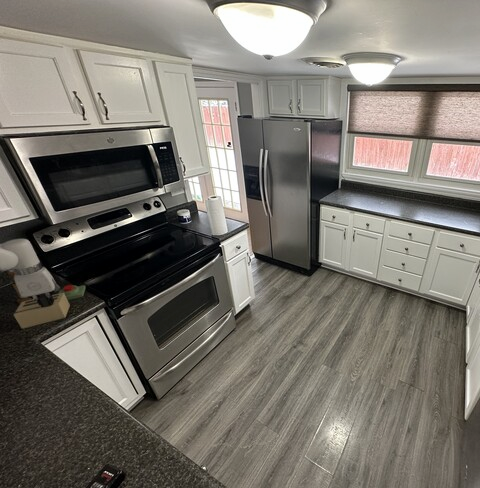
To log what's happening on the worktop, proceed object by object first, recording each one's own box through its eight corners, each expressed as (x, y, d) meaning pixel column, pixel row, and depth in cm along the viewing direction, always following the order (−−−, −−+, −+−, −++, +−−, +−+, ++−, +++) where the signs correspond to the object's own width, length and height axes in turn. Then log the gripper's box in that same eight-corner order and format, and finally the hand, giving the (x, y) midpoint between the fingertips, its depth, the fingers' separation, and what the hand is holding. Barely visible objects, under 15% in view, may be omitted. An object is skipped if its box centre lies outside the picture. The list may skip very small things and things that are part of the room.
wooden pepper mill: (20, 306, 125) (1, 274, 117) (17, 301, 128) (-2, 270, 120) (39, 299, 130) (23, 268, 122) (35, 295, 133) (19, 264, 125)
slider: (44, 307, 113) (39, 298, 111) (46, 303, 115) (41, 294, 113) (49, 306, 114) (44, 296, 112) (51, 302, 116) (46, 293, 114)
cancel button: (63, 292, 130) (62, 289, 129) (65, 289, 133) (63, 286, 132) (73, 290, 132) (71, 287, 131) (74, 287, 134) (73, 284, 134)
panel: (56, 303, 128) (53, 297, 126) (60, 294, 135) (57, 287, 133) (83, 297, 133) (80, 291, 131) (86, 288, 139) (83, 282, 138)
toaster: (22, 329, 112) (13, 314, 109) (29, 315, 120) (21, 301, 116) (65, 318, 119) (58, 304, 115) (70, 306, 126) (63, 292, 123)
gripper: (-4, 278, 100) (19, 315, 108) (52, 267, 108) (70, 303, 116) (4, 269, 106) (25, 305, 114) (57, 260, 113) (73, 294, 121)
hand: (47, 304), depth 115 cm, fingers closed on slider, 2 cm apart
